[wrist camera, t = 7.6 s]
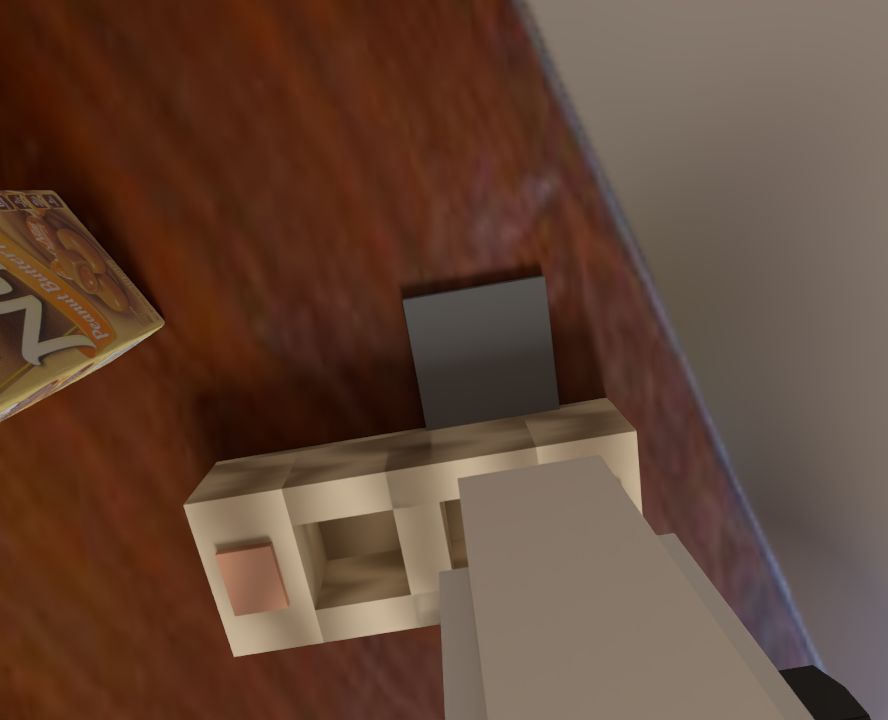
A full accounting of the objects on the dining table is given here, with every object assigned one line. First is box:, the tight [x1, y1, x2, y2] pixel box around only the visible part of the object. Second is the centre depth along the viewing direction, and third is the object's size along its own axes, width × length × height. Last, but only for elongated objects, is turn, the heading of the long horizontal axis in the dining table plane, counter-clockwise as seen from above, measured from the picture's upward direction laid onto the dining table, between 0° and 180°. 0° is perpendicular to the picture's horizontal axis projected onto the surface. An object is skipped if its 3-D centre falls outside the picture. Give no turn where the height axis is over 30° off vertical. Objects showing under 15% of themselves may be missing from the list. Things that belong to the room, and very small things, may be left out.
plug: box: [457, 455, 785, 720], centre depth 10 cm, size 4×4×12 cm
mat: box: [403, 275, 560, 431], centre depth 33 cm, size 8×8×1 cm
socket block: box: [183, 398, 642, 657], centre depth 33 cm, size 24×10×5 cm, turn 99°
